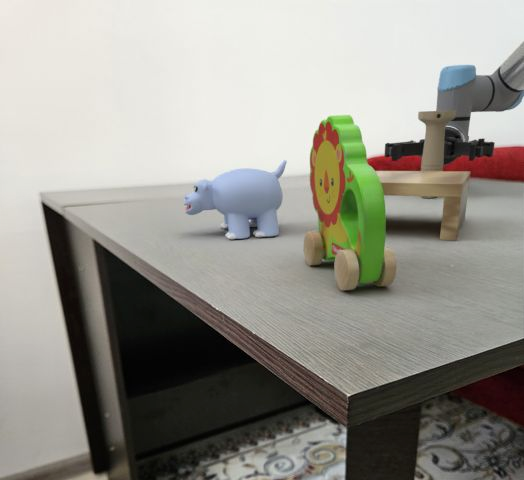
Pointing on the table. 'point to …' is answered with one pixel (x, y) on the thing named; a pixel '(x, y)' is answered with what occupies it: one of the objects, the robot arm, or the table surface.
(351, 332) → the table surface
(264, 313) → the table surface
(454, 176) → the shelf stand
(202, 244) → the table surface
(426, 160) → the handle
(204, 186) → the hippopotamus toy
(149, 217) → the table surface
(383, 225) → the toy lion
